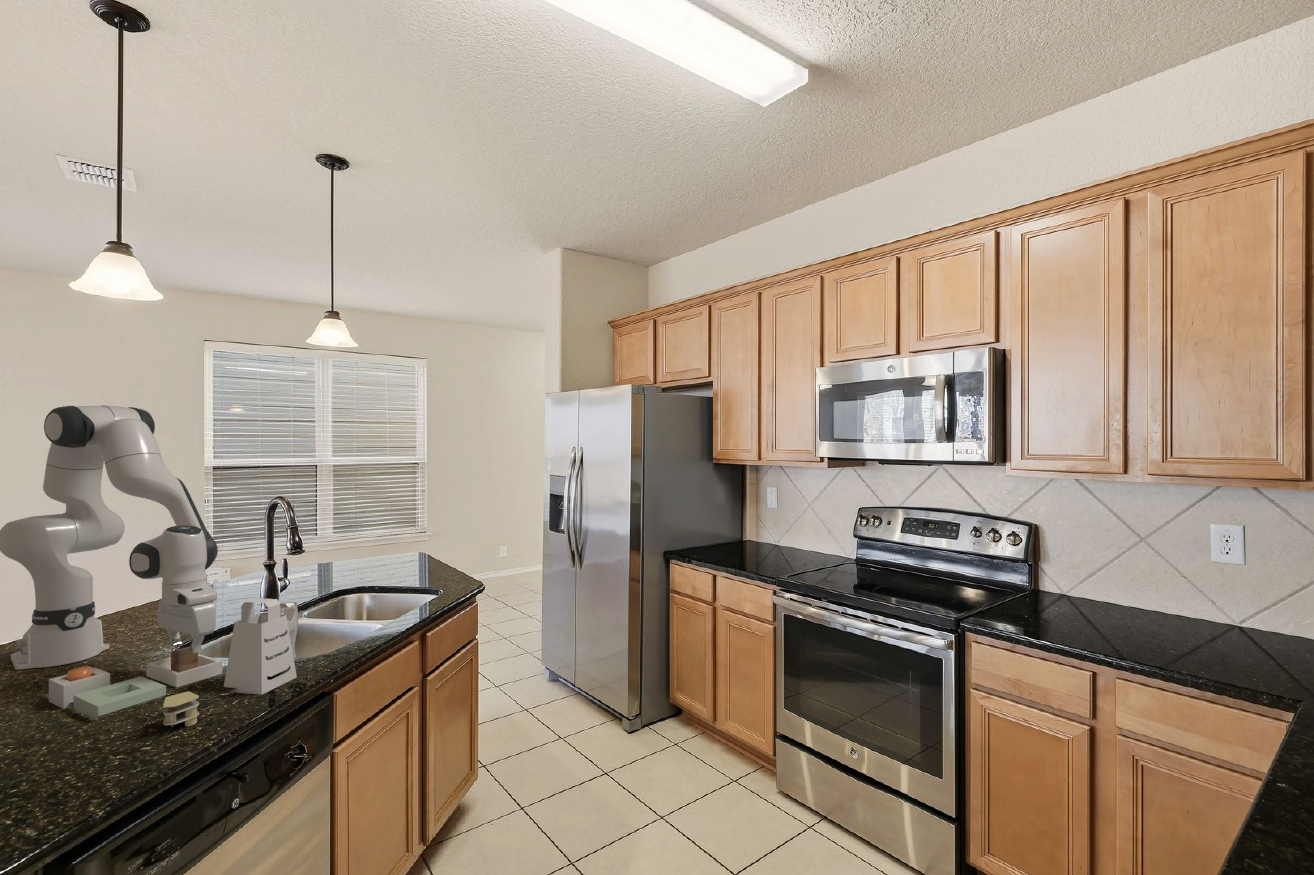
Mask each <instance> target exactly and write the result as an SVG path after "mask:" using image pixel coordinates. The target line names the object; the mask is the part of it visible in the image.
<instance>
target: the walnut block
mask: <svg viewBox="0 0 1314 875" xmlns="http://www.w3.org/2000/svg"><path fill="white" fill-rule="evenodd" d="M198 654H199V652H196V653H194V652H191V651H190V646H186V647H182V648H179V649H176V650H171V651H170V657H171V670H173V671H176V672H178V673H180V672H183V671H187V670H190V669H193V668H197V667H198Z"/></svg>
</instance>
